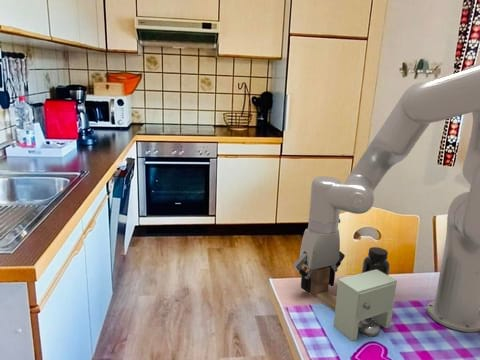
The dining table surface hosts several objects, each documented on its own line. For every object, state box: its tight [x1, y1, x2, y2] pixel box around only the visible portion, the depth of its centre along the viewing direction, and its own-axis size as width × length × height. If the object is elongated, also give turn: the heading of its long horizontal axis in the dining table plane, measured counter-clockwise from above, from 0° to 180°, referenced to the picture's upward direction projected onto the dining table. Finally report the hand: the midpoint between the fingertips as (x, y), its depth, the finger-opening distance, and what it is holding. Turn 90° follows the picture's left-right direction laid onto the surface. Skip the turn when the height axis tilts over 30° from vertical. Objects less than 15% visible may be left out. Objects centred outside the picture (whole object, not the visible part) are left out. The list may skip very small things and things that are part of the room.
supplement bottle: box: [361, 246, 391, 276], centre depth 106 cm, size 7×7×12 cm
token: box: [358, 318, 380, 338], centre depth 89 cm, size 4×4×2 cm
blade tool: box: [308, 266, 337, 312], centre depth 100 cm, size 4×14×8 cm, turn 28°
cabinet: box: [333, 269, 398, 342], centre depth 89 cm, size 12×7×12 cm, turn 118°
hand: (317, 286), depth 105 cm, fingers open, 7 cm apart
